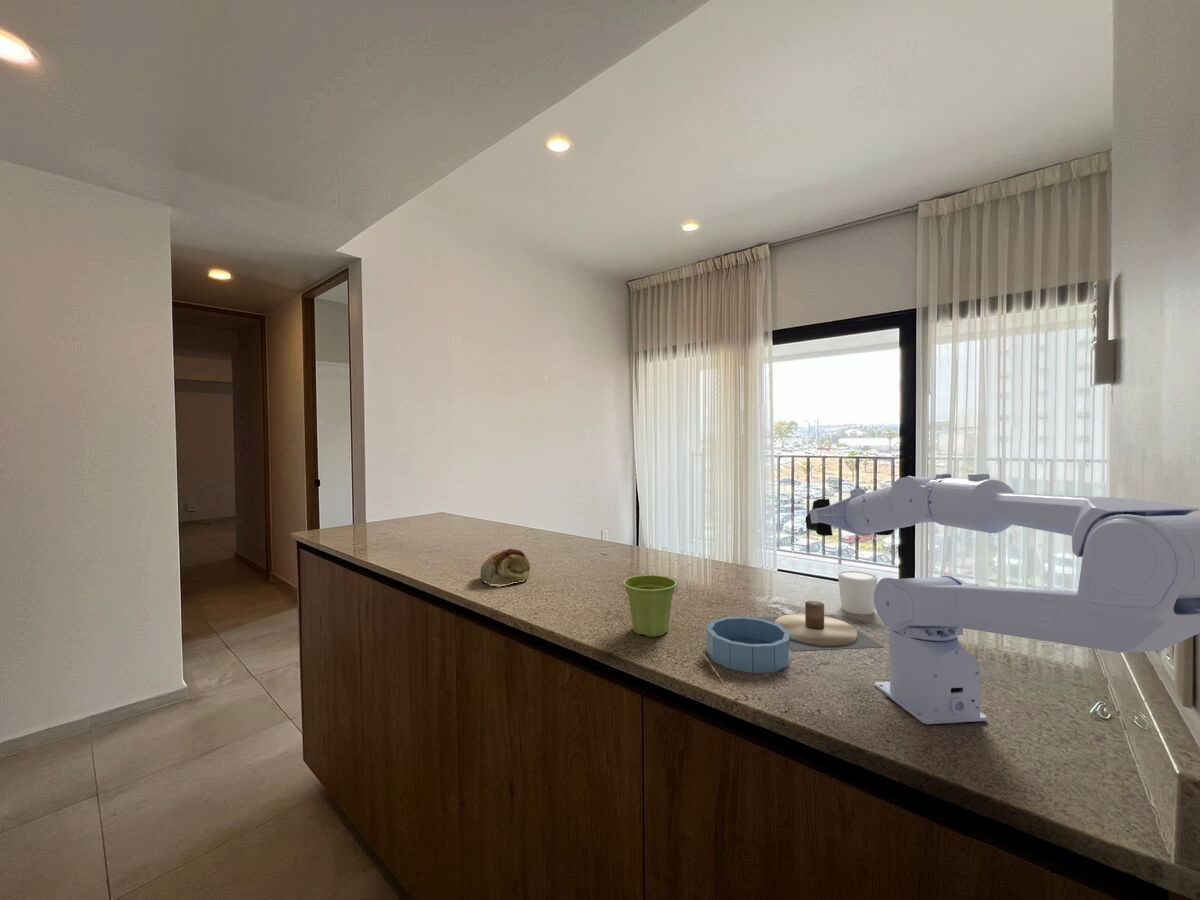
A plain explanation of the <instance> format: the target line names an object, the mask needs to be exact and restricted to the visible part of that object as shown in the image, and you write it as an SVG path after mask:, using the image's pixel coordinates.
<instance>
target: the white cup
mask: <svg viewBox="0 0 1200 900" xmlns="http://www.w3.org/2000/svg"><path fill="white" fill-rule="evenodd" d="M837 575H838V586H839V595H840V607H841V609H842V610H843V611H844V612H847V613H850V614H854V615H855V614H856V615H872V614H874V613H875V605H874V591H875V587H876V585H877V583H878V576H877V575H874V574H872V573H868V572H863V571H852V570H851V571H849V570H848V571H847V570H846V571H840V572H838V573H837Z"/></svg>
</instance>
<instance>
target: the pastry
mask: <svg viewBox="0 0 1200 900" xmlns="http://www.w3.org/2000/svg"><path fill="white" fill-rule="evenodd" d="M530 571H531V564H530V561H529V559H528V558H527V556H526V553H524V552H523V551H522V550H520V549H515V548H509V549H503V550H501V551H496V552H494V553H491V554H490V556H489V557H488V558H487V559H486V561H484V563H483V564H482V566H481V568H480V573H479V574H480V578H481V581H482V580H484V581H486V582H487V583H489V584H499V585H500V584H501V585H502V584H509V583H512V582H519V581H523V580H526V579H527V580H528V579H529V575H530Z"/></svg>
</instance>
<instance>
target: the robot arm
mask: <svg viewBox="0 0 1200 900" xmlns="http://www.w3.org/2000/svg"><path fill="white" fill-rule="evenodd" d="M849 492H850V493H849V494H850V496H849V497H847V498H845V499H842V500H840V501H837V502H835V503H832V504H831V503H830V498H819V499H816V500H814V501H813V502H812V507H811V509H810V510H809V513H808V514H807V515H806V516H805V526H806V529H807V530H810V531H814V532H816V534H817V535H818V536H826V537H828V536H829V537H830V536H833V530H832V529H833V528H832V527H834V528H836V529H840V530H842V531H846V532H848V533H850V534H853V535H857V536H860V537H865V536H870V535H874V534H876V535H877V536H891V535H892V534H893V533H894V531H895V530H898V529H902V528H907V527H912V526H915V525H917V524H922V523H923V524H924V523H936V524H938V525H941V526H945V527H953V528H958V529H964V530H970V531H976V532H982V533H987V534H997V533H1001V532H1003V531H1006V530H1007V529H1008V528H1010V527H1011V526H1012V525H1013V526H1018V527H1023V528H1029V529H1034V530H1038V531H1039V530H1040V531H1044V532H1049V533H1055V534H1060V535H1067V536H1070V537H1071V550H1072V553H1073V554H1074V555H1075V556H1076V557H1077V558H1080V557H1081V558H1082V559H1081V564H1080V565H1081V566H1080V567H1081V568H1080V573H1079V580H1078V589H1077V590H1075V591H1074V590H1058V589H1057V590H1056V589H1040V588H1039V589H1038V588H1037V589H1036V588H1035V589H1034V588H1017V587H1016V588H1015V587H999V586H998V587H997V586H979V584H976V583H975V584H973V583H971V584H970V583H967V582H964V581H963V580H961V579H960V578H958V577H956V576H954V575H948V574H947V575H942V576H937V577H936V576H935V577H934V576H932V577H908V578H892V577H883V578H881V579H880V580H878V581H877V585H876V587H875V591H874V605H875V607H874V610H875V611H876V613H877V616H878V617H879V618H880V621H882V623H883V625H884V626H885V627H887V628H889V681H876V682H874V687H875V688H876V689H878V690H879V691H880V692H881V693H883V694H884V695H885V696H887V697H888V698H889V699H891V700H892V701H894V702H895V703H896V704H897V705H898V706H900V707H901V708H902V709H904V710H905V711H907V712H908V713H909V714H911V715H912V716H913V717H914V718H915V719H917V720H918V721H919V722H921V723H922V724H925V725H936V724H937V725H938V724H939V725H940V724H956V723H957V724H958V723H969V722H970V723H971V722H973V723H974V722H985V721H987V720H988V719H987V718H988V717H987V715H985V714H984V713H982V712H981V669H980V665H979V662H978V660H977V659H976V658H975V656H974V655H973V654H972V653H971V652H969V651H967V650H966V649H965V647H963V645H962V644H961V643H960V640H959V638H958V637H959V636H962V635H964V630H965V629H966V630H973V631H978V632H985V633H992V634H997V635H1004V636H1005V635H1006V636H1010V637H1011V636H1012V637H1019V638H1024V639H1032V640H1037V641H1044V642H1052V643H1057V644H1062V645H1069V646H1076V647H1083V648H1087V649H1088V648H1089V649H1095V650H1101V651H1108V652H1115V653H1120V654H1121V653H1144V652H1145V653H1146V652H1156V651H1163V650H1166V649H1168V648H1171V647H1173V646H1175V645H1178V644H1180V643H1181V642H1184V641H1185V640H1188V639H1191V638H1192V637H1195V636H1196V635H1198V634H1200V514H1192V513H1194V512H1197V511H1200V508H1198V507H1193V506H1188V505H1182V504H1177V503H1167V502H1158V501H1150V500H1149V501H1148V500H1141V499H1132V498H1124V497H1110V496H1108V497H1107V496H1105V497H1104V496H1084V495H1083V496H1082V495H1060V494H1037V493H1035V494H1034V493H1016V492H1015V491H1014V490H1013V488H1012V487H1010V485H1008V484H1007V483H1005V482H1003V481H1002V480H999V479H993V478H992V479H990V474H989V473H968V475H967V478H965V477H952V474H951V473H936V474H935V476H911V475H907V476H904V477H900V478H897V480H895V481H894V482H893V484H892V485H890V486H887V487H883V488H880V489H876V490H873V491H871V492H870V491H869V492H867V493H866V490H864V489H863V488H853V489H851V490H850V491H849Z"/></svg>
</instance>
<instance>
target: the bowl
mask: <svg viewBox="0 0 1200 900" xmlns="http://www.w3.org/2000/svg"><path fill="white" fill-rule="evenodd" d="M757 618H758V617H750V616H726V617H721V618H718V619H715V620H712V621H710V622H709V624H708V625H707V627H706V653H707V655H708V656H709V658H710V659H711V661H713V662H714V663H716V664H718V665H720V666H722V667H725V668H727V669H730V670H735V671H740V672H745V673H751V674H761V673H762V674H763V673H765V674H766V673H776V672H778V671H780V670H782V669H785V668H788V667H789V666H790V661H791V649H790V632H789V631H787V630H786V629H785V628H784V627H782V626H781V625H779V624H776V623H773V622H770V621H767V620H763V619H757Z"/></svg>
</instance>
